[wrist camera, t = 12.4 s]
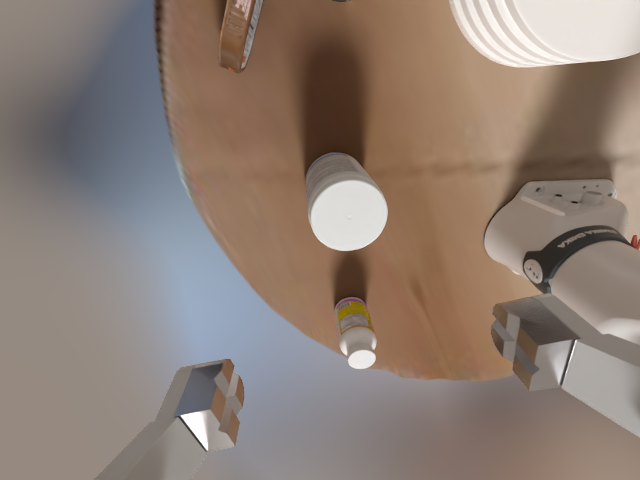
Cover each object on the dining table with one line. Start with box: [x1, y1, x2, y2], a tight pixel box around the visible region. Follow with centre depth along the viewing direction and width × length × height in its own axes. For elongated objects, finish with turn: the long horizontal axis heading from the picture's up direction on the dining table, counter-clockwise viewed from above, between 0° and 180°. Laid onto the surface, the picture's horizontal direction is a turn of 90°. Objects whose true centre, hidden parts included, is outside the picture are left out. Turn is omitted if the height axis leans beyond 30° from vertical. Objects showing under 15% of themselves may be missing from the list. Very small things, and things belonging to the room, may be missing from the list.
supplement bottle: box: [335, 297, 376, 369], centre depth 54 cm, size 7×7×13 cm
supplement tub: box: [305, 153, 388, 251], centre depth 40 cm, size 10×10×15 cm
